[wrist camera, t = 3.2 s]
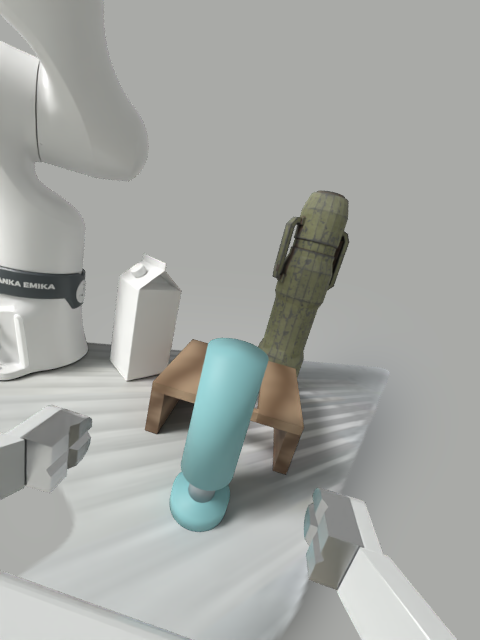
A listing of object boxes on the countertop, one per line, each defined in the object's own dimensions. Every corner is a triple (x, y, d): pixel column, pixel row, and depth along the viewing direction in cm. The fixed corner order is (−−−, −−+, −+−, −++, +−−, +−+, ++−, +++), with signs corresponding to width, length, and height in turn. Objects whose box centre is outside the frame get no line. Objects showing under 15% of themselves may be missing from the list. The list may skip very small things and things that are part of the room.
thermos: (308, 392, 52) (377, 205, 42) (255, 393, 47) (320, 181, 37) (285, 369, 59) (339, 205, 49) (237, 367, 54) (287, 185, 44)
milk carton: (148, 354, 51) (163, 256, 45) (167, 373, 46) (186, 266, 41) (109, 360, 45) (121, 250, 40) (126, 382, 41) (142, 260, 35)
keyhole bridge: (144, 430, 33) (152, 381, 31) (185, 374, 47) (192, 339, 45) (285, 474, 32) (303, 427, 30) (283, 403, 46) (295, 368, 44)
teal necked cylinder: (168, 533, 23) (207, 363, 18) (170, 475, 28) (201, 332, 23) (230, 530, 24) (282, 373, 19) (222, 476, 29) (261, 341, 24)
